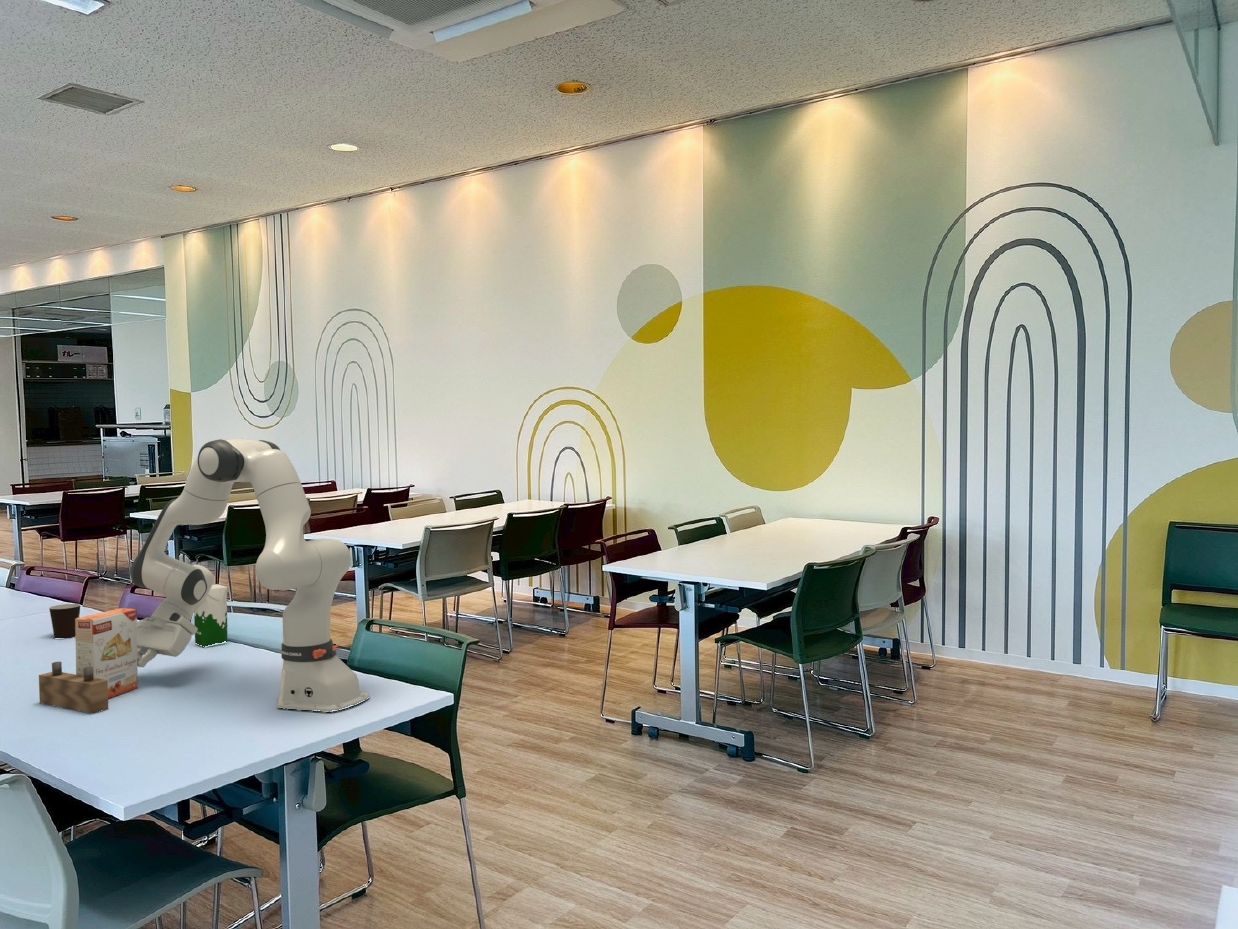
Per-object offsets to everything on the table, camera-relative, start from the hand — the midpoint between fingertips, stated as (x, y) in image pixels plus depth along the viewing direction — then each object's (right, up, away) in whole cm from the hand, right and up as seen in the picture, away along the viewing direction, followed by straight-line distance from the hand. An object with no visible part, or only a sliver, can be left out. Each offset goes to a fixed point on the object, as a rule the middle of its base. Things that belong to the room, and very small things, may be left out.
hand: (136, 665), depth 231 cm
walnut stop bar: (-7, -6, -15) cm, 18 cm away
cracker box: (-3, -6, -7) cm, 10 cm away
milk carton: (-2, -4, +46) cm, 47 cm away
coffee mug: (-54, -4, +60) cm, 81 cm away
